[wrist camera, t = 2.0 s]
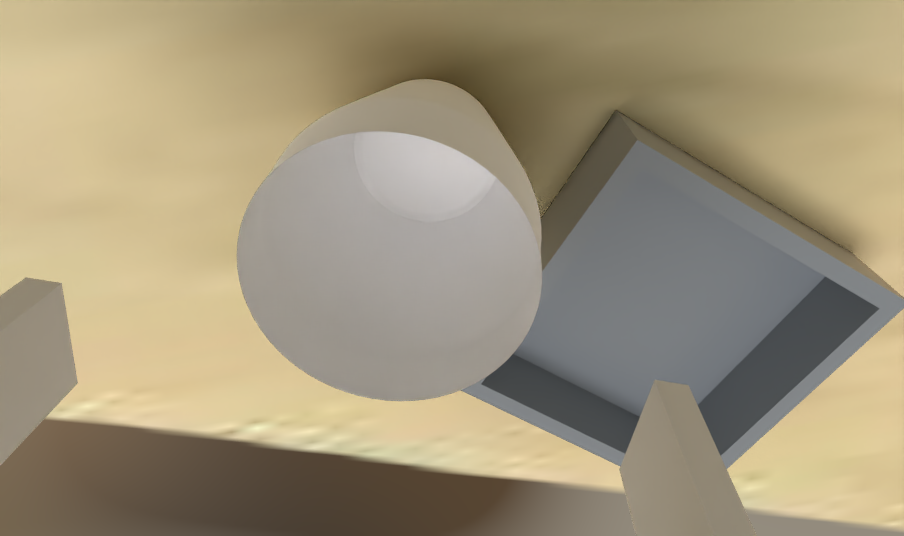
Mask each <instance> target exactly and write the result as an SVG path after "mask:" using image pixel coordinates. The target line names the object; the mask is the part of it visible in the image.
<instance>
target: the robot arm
mask: <svg viewBox="0 0 904 536" xmlns="http://www.w3.org/2000/svg"><path fill="white" fill-rule="evenodd" d="M77 383H78V382H77V376H76V370H75V363H74V357H73V351H72V345H71V339H70V332H69V326H68V320H67V314H66V308H65V301H64V295H63V289H62V283H57V282H51V281H45V280H39V279H33V278H25V279H23V280H22V281H20V282H19V283H18V284H16V285H15V286H13V287H12V288H11V289H9V290H8V291H6V292H5V293H4V294H2V295H1V296H0V465H1V464H2V463H3V462H4V461H5V460H6V459H7V458H8V457H9V455H10V454H11V453H12V452H13V451H14V450H15V449H16V448H17V447H18V446H19V445H20V444H21V443H22V442H23V440H25V439H26V437H27V436H28V435H29V434H30V433H31V432H32V431H33V430H34V429H35V428H36V427H37V426H38V425H39V424H40V422H41V421H42V420H43V419H44V418H45V417H46V416H47V415H48V414H49V413H50V412H51V411H52V410H53V409H54V408H55V407H56V406H57V405H58V403H59V402H60V401H61V400H62V399H63V398H64V397H65V396H66V395H67V394H68V393H69V392H70V391H71V390H72V389H73V388H74V386H75V385H76V384H77ZM620 473H621V477H622V481H623V485H624V489H625V493H626V497H627V501H628V505H629V509H630V513H631V517H632V521H633V525H634V529H635V534H636V536H756V534H755V531H754V529H753V527H752V525H751V522H750V520H749V518H748V516H747V513H746V511H745V509H744V507H743V505H742V502H741V500H740V498H739V496H738V494H737V491H736V489H735V487H734V485H733V483H732V480H731V478H730V476H729V474H728V472H727V469H726V467H725V465H724V463H723V460H722V458H721V456H720V454H719V452H718V449H717V447H716V445H715V443H714V441H713V438H712V436H711V434H710V432H709V430H708V427H707V425H706V423H705V421H704V419H703V416H702V414H701V412H700V410H699V407H698V405H697V403H696V401H695V399H694V396H693V394H692V392H691V390H690V388H689V385H684V384H678V383H672V382H666V381H659V380H654V383H653V385H652V388H651V390H650V393H649V395H648V398H647V401H646V403H645V406H644V408H643V411H642V413H641V416H640V418H639V421H638V423H637V426H636V428H635V431H634V433H633V436H632V439H631V441H630V444H629V446H628V449H627V451H626V454H625V456H624V459H623V461H622V464H621V466H620Z"/></svg>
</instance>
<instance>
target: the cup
mask: <svg viewBox="0 0 904 536" xmlns="http://www.w3.org/2000/svg"><path fill="white" fill-rule="evenodd" d="M541 239H542V237H541V219H540V212H539V208H538V204H537V200H536V197H535V194H534V191H533V188H532V185H531V183H530V181H529V178H528V176H527V174H526V172H525V170H524V169H523V167H522V165H521V164H520V162H519V160H518V159H517V157H516V155H515V154H514V152H513V151H512V149H511V148H510V146H509V144H508V143H507V141H506V140H505V138H504V137H503V135H502V134H501V132H500V131H499V129H498V128H497V126H496V124H495V123H494V121H493V120H492V118H491V117H490V115H489V114H488V112H487V111H486V110H485V108H484V107H483V106H482V105H481V104H480V103H479V101H478V100H476V99H475V98H474V97H473V96H472V95H470V94H469V93H468V92H466V91H465V90H463V89H461V88H459V87H457V86H455V85H453V84H450V83H447V82H443V81H439V80H432V79H417V80H410V81H406V82H402V83H399V84H397V85H394V86H392V87H389V88H387V89H384V90H382V91H379V92H377V93H374V94H371V95H369V96H366V97H364V98H361V99H359V100H356V101H354V102H351V103H349V104H346V105H344V106H342V107H339V108H337V109H335V110H333V111H331V112H329V113H327V114H325V115H324V116H322V117H321V118H319V119H318V120H316V121H315V122H314V123H312V124H311V125H309V126H308V127H307V128H306V129H304V130H303V131H302V132H301V133H300V134H299V135H298V136H297V137H296V138H295V139H294V140H293V141H292V142H291V143H290V144H289V145H288V147H287V148H286V149H285V151H284V152H283V153H282V155H281V156H280V158H279V159H278V161H277V163H276V164H275V166H274V167H273V169H272V170H271V172H270V173H269V175H268V176H267V177H266V179H265V180H264V181H263V183H262V184H261V185H260V187H259V188H258V190H257V191H256V192H255V194H254V196H253V198H252V199H251V201H250V203H249V205H248V207H247V209H246V212H245V214H244V217H243V220H242V223H241V227H240V231H239V236H238V242H237V269H238V275H239V281H240V285H241V289H242V292H243V295H244V298H245V301H246V303H247V306H248V308H249V310H250V312H251V314H252V316H253V318H254V320H255V321H256V323H257V324H258V326H259V328H260V329H261V331H262V332H263V333H264V335H265V336H266V337H267V339H268V340H269V341H270V342H271V343H272V344H273V345H274V347H275V348H276V349H277V350H278V351H279V352H280V353H281V354H282V355H284V356H285V357H286V358H287V359H288V360H289V361H290V362H292V363H293V364H294V365H295V366H297V367H298V368H299V369H301V370H302V371H304V372H305V373H307V374H308V375H310V376H312V377H314V378H315V379H317V380H319V381H321V382H323V383H325V384H327V385H329V386H331V387H334V388H336V389H339V390H342V391H344V392H347V393H351V394H354V395H358V396H362V397H367V398H372V399H379V400H387V401H415V400H425V399H430V398H436V397H440V396H444V395H448V394H451V393H454V392H457V391H459V390H462V389H465V388H467V387H469V386H471V385H473V384H475V383H477V382H479V381H480V380H482V379H484V378H485V377H487V376H488V375H490V374H491V373H493V372H494V371H495V370H497V369H498V368H499V367H500V366H501V365H502V364H503V363H505V362H506V361H507V360H508V359H509V358H510V356H511V355H512V354H513V353H514V352H515V351H516V350H517V348H518V347H519V346H520V344H521V343H522V341H523V340H524V338H525V337H526V335H527V333H528V332H529V329H530V327H531V325H532V323H533V321H534V318H535V315H536V312H537V309H538V306H539V301H540V296H541V288H542V263H541Z"/></svg>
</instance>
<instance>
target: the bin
mask: <svg viewBox="0 0 904 536" xmlns="http://www.w3.org/2000/svg"><path fill="white" fill-rule="evenodd" d="M541 237H542V239H541V263H542V288H541V296H540V301H539V306H538V309H537V312H536V315H535V318H534V321H533V323H532V325H531V327H530V329H529V332H528V333H527V335H526V337H525V338H524V340H523V341H522V343H521V344H520V346H519V347H518V348H517V350H516V351H515V352H514V353H513V354H512V355H511V356H510V358H509V359H508V360H507V361H506V362H505V363H503V364H502V365H501V366H500V367H499V368H498V369H497V370H495V371H494V372H493V373H491V374H490V375H488V376H487V377H485V378H484V379H482V380H480V381H479V382H477V383H475V384H473V385H471V386H469V387H467V388H465V389H462V390H461V391H463V392H465V393H467V394H469V395H472V396H474V397H476V398H478V399H480V400H482V401H484V402H486V403H488V404H490V405H493V406H495V407H497V408H499V409H501V410H503V411H505V412H507V413H509V414H511V415H514V416H516V417H518V418H520V419H522V420H524V421H526V422H528V423H530V424H532V425H535V426H537V427H539V428H541V429H543V430H545V431H547V432H549V433H551V434H553V435H556V436H558V437H560V438H562V439H564V440H566V441H568V442H570V443H572V444H574V445H577V446H579V447H581V448H583V449H585V450H587V451H589V452H591V453H593V454H595V455H597V456H600V457H602V458H604V459H606V460H608V461H610V462H612V463H614V464H616V465H618V466H621V464H622V461H623V459H624V456H625V454H626V451H627V449H628V446H629V444H630V441H631V439H632V436H633V433H634V431H635V428H636V426H637V423H638V421H639V418H640V416H641V413H642V411H643V408H644V406H645V403H646V401H647V398H648V395H649V393H650V390H651V388H652V385H653V383H654V380H659V381H666V382H672V383H678V384H684V385H689V388H690V390H691V392H692V394H693V396H694V399H695V401H696V403H697V405H698V407H699V410H700V412H701V414H702V416H703V419H704V421H705V423H706V425H707V427H708V430H709V432H710V434H711V436H712V438H713V441H714V443H715V445H716V447H717V449H718V452H719V454H720V456H721V458H722V460H723V463H724V465H725V467H726V469H727V468H728V467H730V466H731V465H732V464H733V463H734V462H735V461H736V460H737V459H738V458H739V457H741V456H742V455H743V454H744V453H745V452H746V451H747V450H748V449H749V448H750V447H752V446H753V445H754V444H755V443H756V442H757V441H758V440H759V439H760V438H761V437H763V436H764V435H765V434H766V433H767V432H768V431H769V430H770V429H771V428H772V427H774V426H775V425H776V424H777V423H778V422H779V421H780V420H781V419H782V418H783V417H785V416H786V415H787V414H788V413H789V412H790V411H791V410H792V409H793V408H794V407H796V406H797V405H798V404H799V403H800V402H801V401H802V400H803V399H804V398H805V397H807V396H808V395H809V394H810V393H811V392H812V391H813V390H814V389H815V388H816V387H818V386H819V385H820V384H821V383H822V382H823V381H824V380H825V379H826V378H827V377H829V376H830V375H831V374H832V373H833V372H834V371H835V370H836V369H837V368H838V367H840V366H841V365H842V364H843V363H844V362H845V361H846V360H847V359H848V358H849V357H851V356H852V355H853V354H854V353H855V352H856V351H857V350H858V349H859V348H860V347H862V346H863V345H864V344H865V343H866V342H867V341H868V340H869V339H870V338H871V337H873V336H874V335H875V334H876V333H877V332H878V331H879V330H880V329H881V328H882V327H884V326H885V325H886V324H887V323H888V322H889V321H890V320H891V319H892V318H893V317H895V316H896V315H897V314H898V313H899V312H900V311H901V310H902V309H903V308H904V297H902V296H901V295H900V294H899V293H898V292H897V291H895V290H894V289H893V288H892V287H891V286H890V285H889V284H887V283H886V282H885V281H884V280H883V279H882V278H880V277H879V276H878V275H877V274H876V273H875V272H874V271H872V270H871V269H870V268H869V267H868V266H867V265H865V264H864V263H863V262H862V261H861V260H860V259H859V258H857V257H856V256H855V255H854V254H853V253H851V252H850V251H848V250H846V249H845V248H843V247H841V246H840V245H838V244H836V243H835V242H833V241H831V240H830V239H828V238H826V237H825V236H823V235H821V234H820V233H818V232H816V231H815V230H813V229H812V228H810V227H808V226H807V225H805V224H803V223H802V222H800V221H798V220H797V219H795V218H793V217H792V216H790V215H788V214H787V213H785V212H783V211H782V210H780V209H778V208H777V207H775V206H774V205H772V204H770V203H769V202H767V201H765V200H764V199H762V198H760V197H759V196H757V195H755V194H754V193H752V192H750V191H749V190H747V189H745V188H744V187H742V186H740V185H739V184H737V183H736V182H734V181H732V180H731V179H729V178H727V177H726V176H724V175H722V174H721V173H719V172H717V171H716V170H714V169H712V168H711V167H709V166H707V165H706V164H704V163H702V162H701V161H699V160H698V159H696V158H694V157H693V156H691V155H689V154H688V153H686V152H684V151H683V150H681V149H679V148H678V147H676V146H674V145H673V144H671V143H669V142H668V141H666V140H664V139H663V138H661V137H660V136H658V135H656V134H655V133H653V132H651V131H650V130H648V129H646V128H645V127H643V126H641V125H640V124H638V123H636V122H635V121H633V120H631V119H630V118H628V117H626V116H625V115H623V114H622V113H620V112H618V111H617V110H616V111H615V112H614V114H613V115H612V117H611V118H610V119H609V121H608V122H607V124H606V125H605V127H604V128H603V130H602V131H601V132H600V134H599V135H598V137H597V138H596V140H595V141H594V143H593V144H592V146H591V147H590V148H589V150H588V151H587V153H586V154H585V156H584V157H583V159H582V160H581V162H580V163H579V164H578V166H577V167H576V169H575V170H574V172H573V173H572V175H571V176H570V177H569V179H568V180H567V182H566V183H565V185H564V186H563V188H562V189H561V191H560V192H559V193H558V195H557V196H556V198H555V199H554V201H553V202H552V204H551V205H550V206H549V208H548V209H547V211H546V212H545V214H544V215H543V217H542V218H541Z"/></svg>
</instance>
